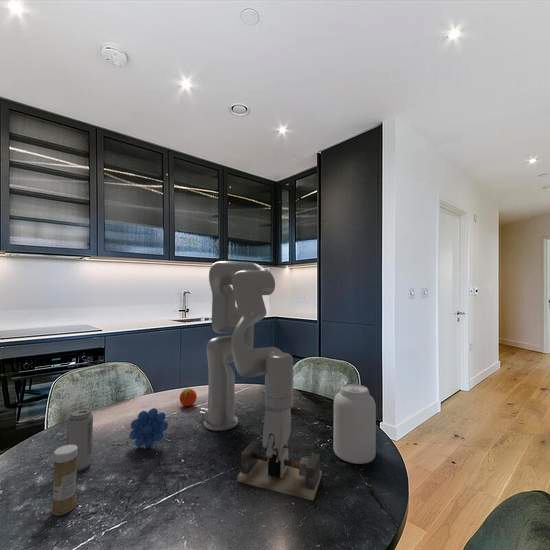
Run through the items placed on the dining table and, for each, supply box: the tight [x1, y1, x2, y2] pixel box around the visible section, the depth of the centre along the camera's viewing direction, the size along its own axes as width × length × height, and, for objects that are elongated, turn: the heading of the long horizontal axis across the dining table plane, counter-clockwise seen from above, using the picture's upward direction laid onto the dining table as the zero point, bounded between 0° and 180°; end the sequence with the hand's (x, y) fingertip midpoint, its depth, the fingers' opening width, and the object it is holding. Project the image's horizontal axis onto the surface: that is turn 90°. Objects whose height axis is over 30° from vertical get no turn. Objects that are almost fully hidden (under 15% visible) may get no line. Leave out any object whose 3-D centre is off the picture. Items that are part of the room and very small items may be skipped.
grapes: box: [129, 407, 169, 448], centre depth 98 cm, size 12×7×12 cm, turn 93°
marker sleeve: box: [273, 445, 289, 478], centre depth 83 cm, size 4×5×5 cm
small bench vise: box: [237, 440, 323, 501], centre depth 82 cm, size 20×10×6 cm, turn 70°
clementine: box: [179, 388, 197, 407], centre depth 130 cm, size 8×7×7 cm
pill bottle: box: [51, 444, 78, 517], centre depth 71 cm, size 5×5×14 cm
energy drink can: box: [66, 408, 94, 473], centre depth 87 cm, size 6×6×15 cm
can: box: [332, 383, 377, 465], centre depth 95 cm, size 12×12×20 cm
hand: (278, 469), depth 83 cm, fingers closed on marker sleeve, 5 cm apart
